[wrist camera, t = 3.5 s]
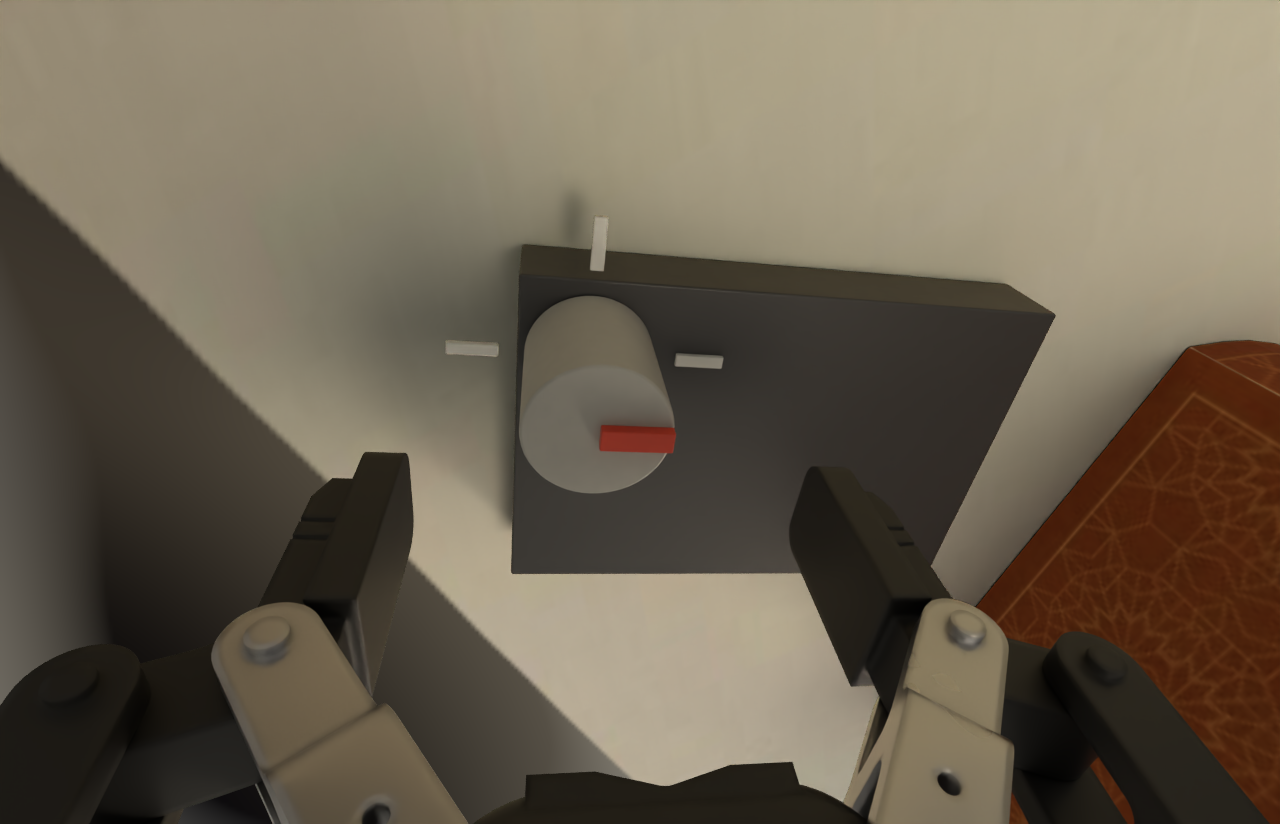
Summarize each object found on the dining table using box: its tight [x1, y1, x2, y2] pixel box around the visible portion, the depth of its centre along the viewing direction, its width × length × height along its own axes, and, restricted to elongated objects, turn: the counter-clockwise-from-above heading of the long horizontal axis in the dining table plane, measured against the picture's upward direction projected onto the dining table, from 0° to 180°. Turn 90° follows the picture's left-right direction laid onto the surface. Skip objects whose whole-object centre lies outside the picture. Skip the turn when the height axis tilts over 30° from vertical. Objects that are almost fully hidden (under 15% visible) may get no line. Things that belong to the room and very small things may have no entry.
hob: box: [445, 215, 1056, 574], centre depth 21 cm, size 18×13×3 cm
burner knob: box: [519, 296, 676, 493], centre depth 16 cm, size 4×4×4 cm
